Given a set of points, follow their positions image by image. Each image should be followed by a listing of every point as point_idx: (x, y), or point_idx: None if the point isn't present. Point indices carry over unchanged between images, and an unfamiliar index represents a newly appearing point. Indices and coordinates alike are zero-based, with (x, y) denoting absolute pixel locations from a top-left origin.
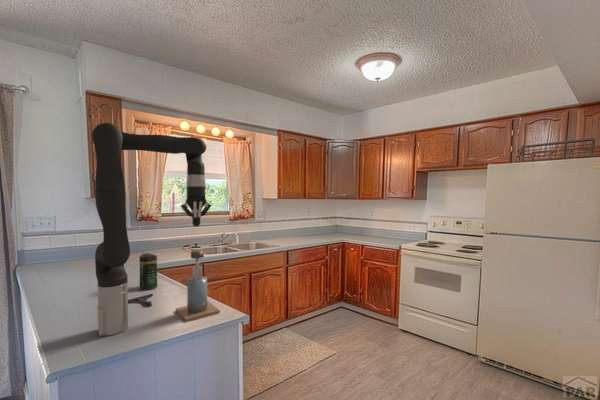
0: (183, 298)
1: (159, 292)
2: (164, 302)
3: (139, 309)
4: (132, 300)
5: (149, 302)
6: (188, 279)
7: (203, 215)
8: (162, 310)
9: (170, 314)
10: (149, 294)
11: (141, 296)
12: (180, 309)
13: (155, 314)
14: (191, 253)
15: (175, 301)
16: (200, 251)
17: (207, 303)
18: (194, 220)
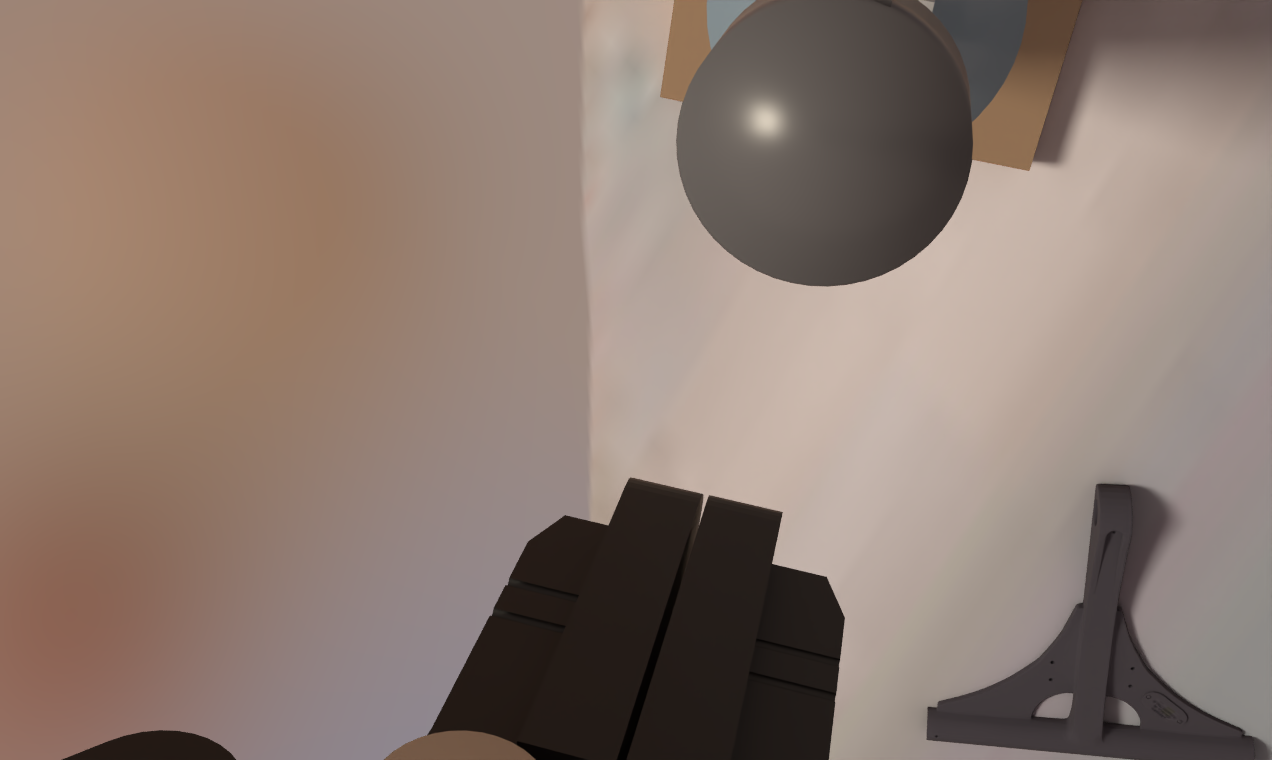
0: (761, 427)
1: (831, 741)
2: (953, 475)
3: (1225, 496)
4: (1136, 734)
5: (1117, 518)
6: (971, 98)
7: (176, 753)
8: (1100, 291)
9: (1118, 117)
10: (957, 734)
11: (1038, 744)
12: (1014, 94)
13: (1215, 245)
14: (969, 156)
15: (864, 415)
16: (758, 99)
17: (703, 18)
18: (780, 731)
